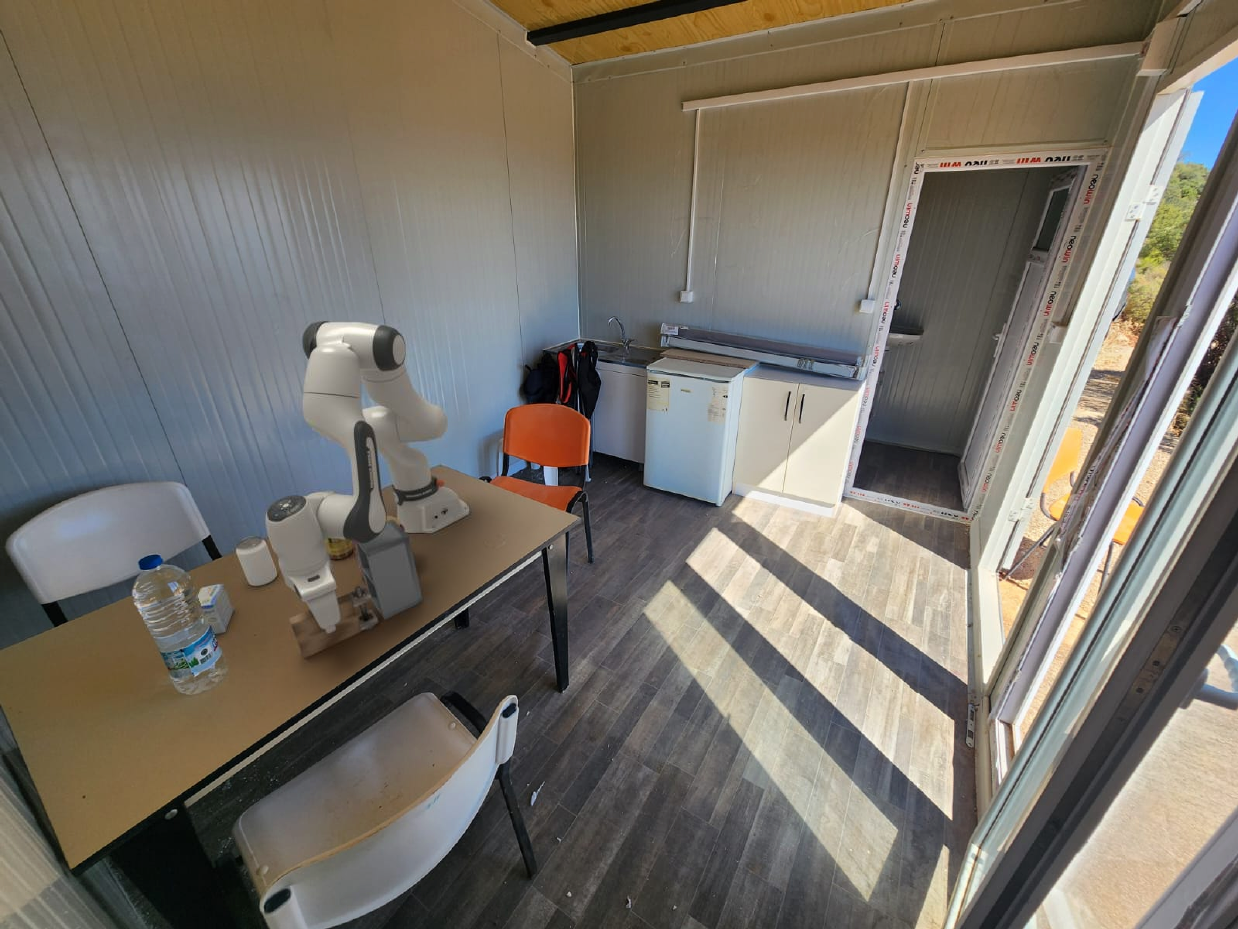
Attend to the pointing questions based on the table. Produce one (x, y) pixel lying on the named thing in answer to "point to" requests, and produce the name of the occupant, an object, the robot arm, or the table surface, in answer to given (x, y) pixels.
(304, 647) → the door
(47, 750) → the table surface
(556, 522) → the table surface
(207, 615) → the medicine box
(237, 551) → the can
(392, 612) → the cabinet
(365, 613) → the hinge post
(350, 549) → the sauce bottle
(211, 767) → the table surface
